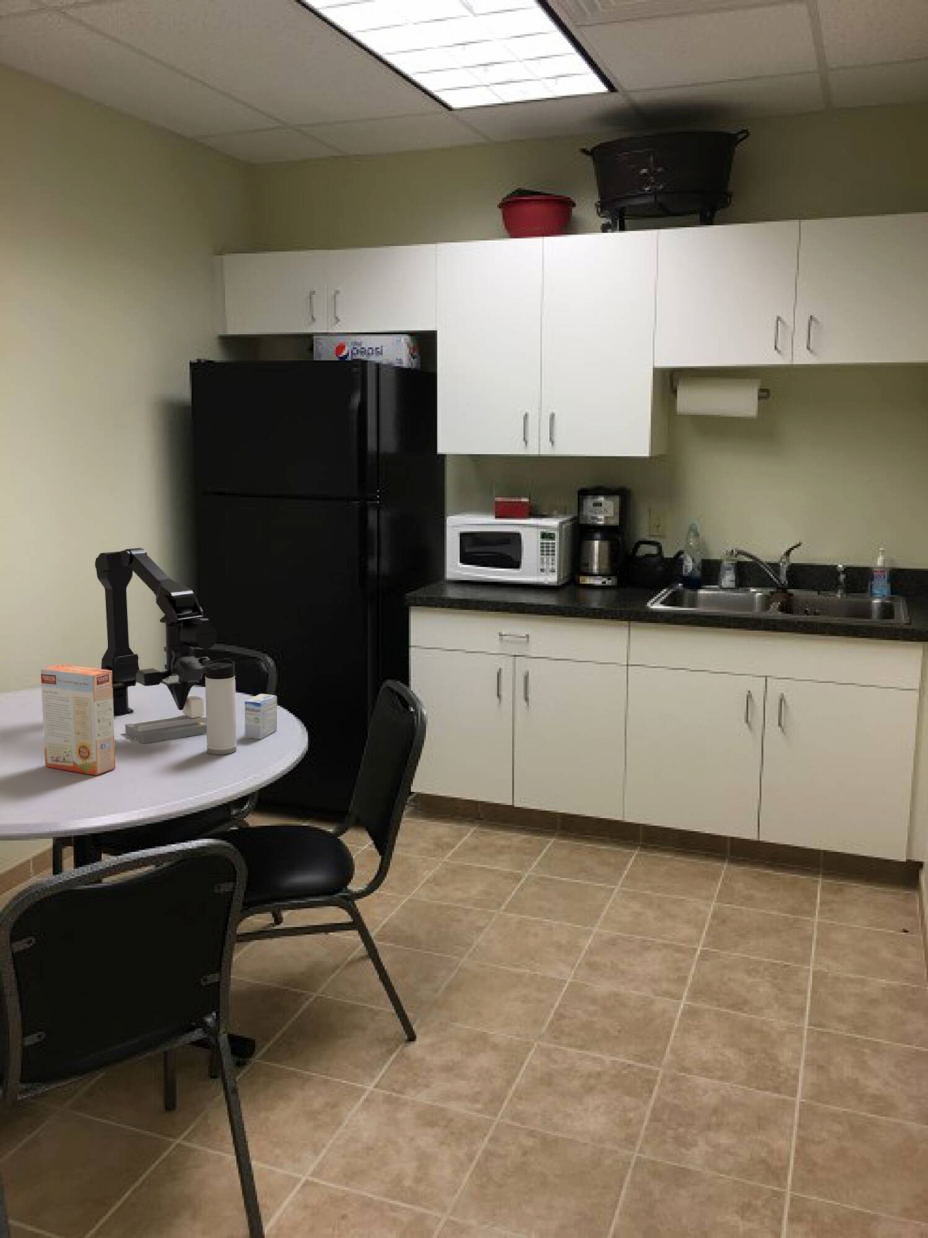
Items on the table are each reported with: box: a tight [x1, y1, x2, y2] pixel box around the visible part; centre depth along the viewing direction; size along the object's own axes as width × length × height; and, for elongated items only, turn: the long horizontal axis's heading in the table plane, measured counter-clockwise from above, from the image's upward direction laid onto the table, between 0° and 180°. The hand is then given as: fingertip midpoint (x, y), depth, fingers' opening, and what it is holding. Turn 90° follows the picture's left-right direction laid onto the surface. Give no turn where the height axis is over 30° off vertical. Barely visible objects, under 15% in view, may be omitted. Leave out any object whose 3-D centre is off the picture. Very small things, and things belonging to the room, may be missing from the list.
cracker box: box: [40, 663, 116, 776], centre depth 218 cm, size 14×6×21 cm, turn 65°
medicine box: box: [244, 693, 278, 740], centre depth 246 cm, size 8×4×9 cm, turn 164°
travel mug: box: [204, 657, 237, 756], centre depth 232 cm, size 6×7×20 cm
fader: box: [182, 694, 205, 719], centre depth 250 cm, size 5×3×5 cm, turn 38°
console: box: [124, 714, 207, 745], centre depth 247 cm, size 11×17×3 cm, turn 128°
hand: (180, 709), depth 248 cm, fingers closed
